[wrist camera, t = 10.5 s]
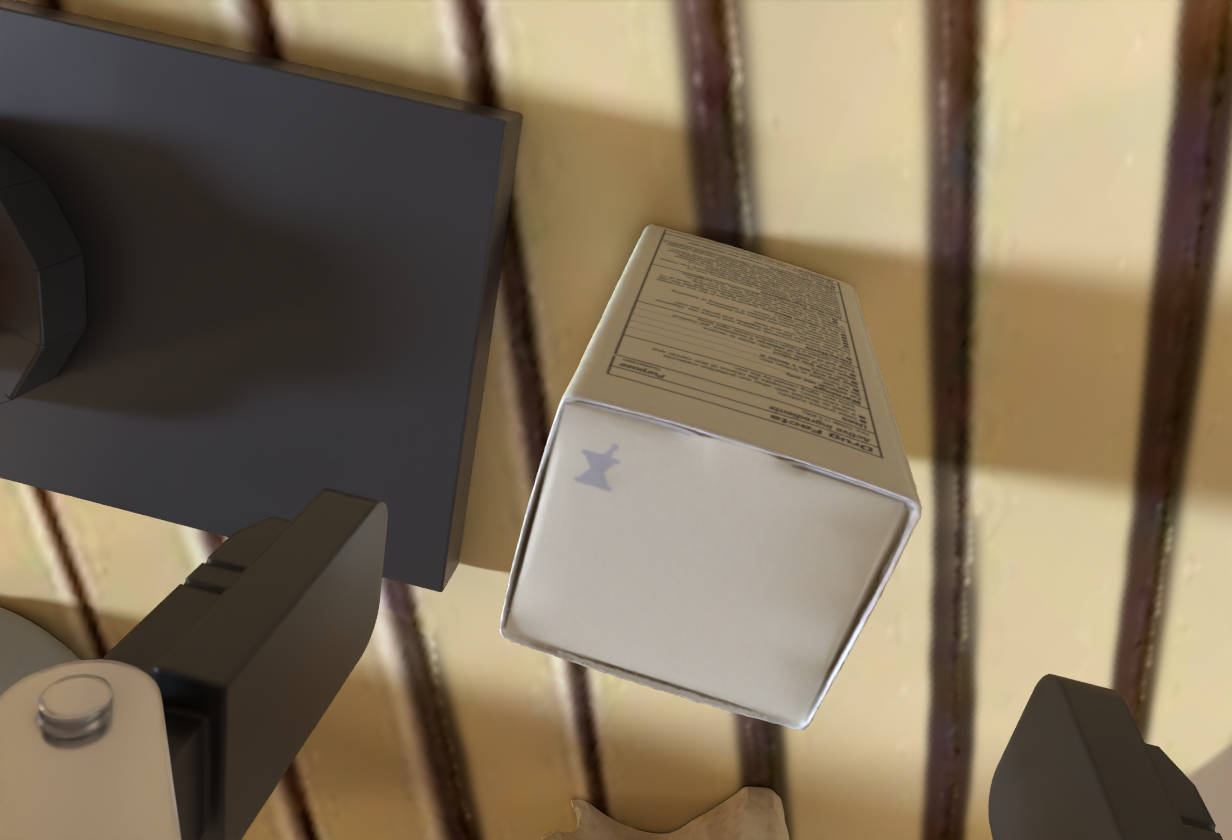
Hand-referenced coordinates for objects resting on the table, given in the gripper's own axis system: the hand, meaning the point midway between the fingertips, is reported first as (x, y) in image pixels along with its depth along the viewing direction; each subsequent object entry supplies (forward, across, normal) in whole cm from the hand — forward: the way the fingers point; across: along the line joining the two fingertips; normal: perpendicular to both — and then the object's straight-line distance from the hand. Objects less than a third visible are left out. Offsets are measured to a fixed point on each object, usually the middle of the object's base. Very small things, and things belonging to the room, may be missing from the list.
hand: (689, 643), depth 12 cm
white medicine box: (+12, 0, 0) cm, 12 cm away
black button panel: (+12, +13, +2) cm, 18 cm away
